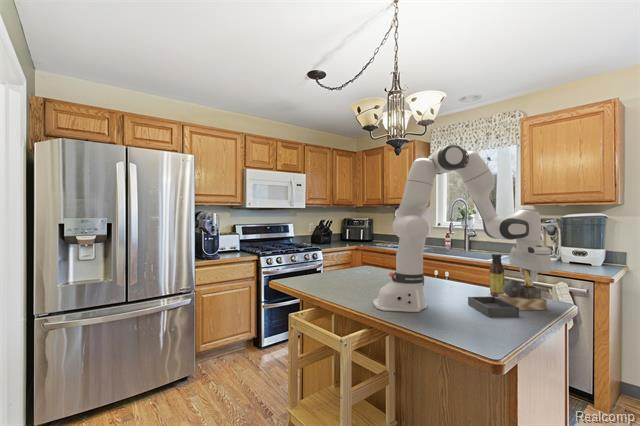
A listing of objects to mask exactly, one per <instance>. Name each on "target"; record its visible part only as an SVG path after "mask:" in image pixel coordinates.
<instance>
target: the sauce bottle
mask: <svg viewBox="0 0 640 426" xmlns="http://www.w3.org/2000/svg"><path fill="white" fill-rule="evenodd" d="M491 257H492V258H491V262H492V263H491V265H490V266H489V291H490V295H492V296H494V297H498V294H505V293H504V291H503V285H504V283H505V282H506V281H505V280H506V279H505V269H504V267H503V262H502V254H501V253H498V252H497V253H496V252H495V253H494V252H493V253H491Z"/></svg>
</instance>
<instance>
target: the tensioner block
mask: <svg viewBox="0 0 640 426" xmlns="http://www.w3.org/2000/svg"><path fill="white" fill-rule="evenodd" d="M503 291H504V294H498V296H497V298H499V299H501V300H503V301H505V302H508V303H510V304H512V305H514V306H516V307H518V308H519V311H533V310H535V311H536V310H541V311H543V310H547V307H548V306H547V305H548V304H547V301H548V300H547V299H546V298H543V297H542V289H541V288H540V287H537V286H534V285H533V288H524V284H521V283H520V282H519V281H517V280H514V279H508V280H506V281H505V283H504V285H503Z"/></svg>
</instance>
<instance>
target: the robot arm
mask: <svg viewBox="0 0 640 426" xmlns="http://www.w3.org/2000/svg"><path fill="white" fill-rule="evenodd" d="M453 171H454V172H456V173H457V174H458V175H459V176H460V178H461V180H462V181H463V183H464V185H465V187H466V189H467V190H468V192H469V194H470V196H471V199H472V201H473V203H474V206H475V207H476V210H477V211H478V213H479V214H478V215H480V218H481V220H482V225H483V226H482V227H483V232H484V234H485V235H487V237H489V238H491V239H501V240H506V241H507V240H508V241H511V240H515V241H516V242H515V244H514V245H513V246H512V247H511V250H510V252H509V264H510V266H512V267H517V268H519V273H520V274H521V278H522V279H523V280H524V269H527V270H531V273H532V274H531V276H529V280H530V281H533V282H536V278H537V276H538V274H550V272H551V271H552V258H551V253H552V249H551V248H550V247H548V246H546V245H545V244H543V243H542V238H541V232H542V221H541V220H542V218H541V216H540V213H539V212H538V211H537V210H533V209H527V208H520V209H518V210H517V211H516V212H513V213H512V214H509V215H507V216H500V215H499V214H498V213H497V211H496V210H495V207H494V206H493V203H492V201H491V198H490V194H491V193H492V191H493V190H494V188H495V185H496V180H495V177H494V175H493V173H492V171H491V169H490V167H489V166H488V165H487V163H486V162H485V160H484V159H483V158H482V157H481V155H480V154H479V153H478V152H477V151H475V150H468V151H467V150H465V149H464V148H462V147H461V146H459V144H458V145H457V144H453V143H452V144H451V143H450V144H446V145H444V146H441V147H439V148H437V149H435V151H433V152H432V153H430V154H429V155H428V157H419V158H415V160H414V161H413V162H412V163H411V166H410V168H409V171H408V173H407V174H408V175H407V178H406V182H405V184H404V185H405V186H404V191H403V194H402V198H401V201H400V204H399V206H398V209H397V212H396V214H395V216H394V217H395V218H394V220H393V222H392V230H393V233H394V234H395V235H396V236H397V237H398V239H399V241H398V246H397V250H396V251H397V252H396V253H395V256H396V257H395V258H396V259H395V260H396V262H395V265H396V266H395V267H396V268H395V272H392V271H389V272H388V276H389V278H390V277H391V281H389V282H388V283H386V284H385V285H384V286H382V287H381V288H380V289H379V290H378V291H379V292H378V297H377V298H375V299H373V301H372V304H373V306H374V307H375V308H376V309H378V310H380V311H384V312H385V311H386V312H387V311H388V312H407V313H408V312H410V313H420V312H421V311H422V310H424V309H426V308H427V307H428V305H427V301H426V296H425V289H424V288H425V287H424V286H425V273H424V250H425V245H426V240H427V237H428V235H429V232H430V227H429V224H428V221H427V220H425V218H423V214H424V213H425V210H426V208H427V207H428V205H429V203H430V198H431V195H432V191H433V186H434V182H435V181H434V180H435V178H436V176H437V175H442V174H448V173H450V172H453Z"/></svg>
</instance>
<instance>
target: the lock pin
mask: <svg viewBox="0 0 640 426" xmlns="http://www.w3.org/2000/svg"><path fill="white" fill-rule="evenodd" d="M531 274H532V273H531V270H527V269H524V279H523V281H524V282H523V283H524V284H523V285H524V288H533V286H534V281H530V280H529V276H531Z"/></svg>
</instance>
